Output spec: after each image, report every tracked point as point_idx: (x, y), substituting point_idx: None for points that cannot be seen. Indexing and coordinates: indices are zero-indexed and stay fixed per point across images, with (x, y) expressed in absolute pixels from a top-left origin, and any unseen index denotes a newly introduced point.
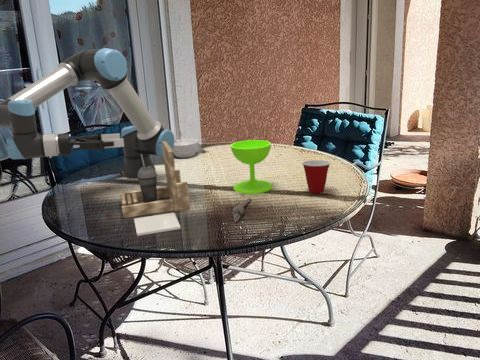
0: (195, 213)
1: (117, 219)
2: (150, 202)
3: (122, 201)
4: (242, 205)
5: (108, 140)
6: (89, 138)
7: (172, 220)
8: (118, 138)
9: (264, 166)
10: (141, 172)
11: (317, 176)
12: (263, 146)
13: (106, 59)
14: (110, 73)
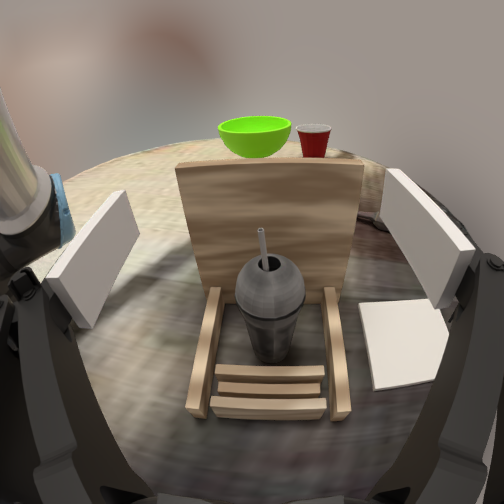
0: (361, 273)
1: (345, 435)
2: (334, 334)
3: (301, 408)
4: (368, 212)
5: (451, 226)
6: (75, 418)
7: (405, 309)
8: (131, 224)
9: (169, 175)
10: (291, 290)
11: (327, 142)
12: (244, 126)
13: None
14: None
